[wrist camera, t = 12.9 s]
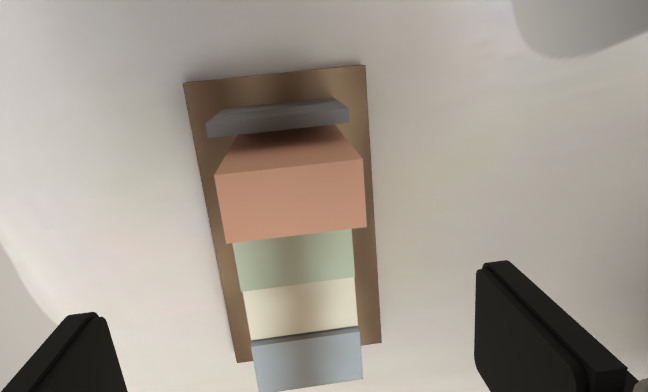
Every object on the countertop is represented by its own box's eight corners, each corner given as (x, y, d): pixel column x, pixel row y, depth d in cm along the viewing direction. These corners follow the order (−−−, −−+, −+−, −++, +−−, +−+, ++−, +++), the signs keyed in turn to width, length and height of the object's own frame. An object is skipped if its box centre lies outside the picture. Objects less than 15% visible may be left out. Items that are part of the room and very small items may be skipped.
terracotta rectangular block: (333, 122, 31) (362, 158, 20) (337, 168, 32) (366, 227, 21) (239, 132, 31) (213, 175, 19) (246, 178, 32) (226, 243, 20)
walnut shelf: (361, 64, 32) (395, 67, 22) (378, 332, 39) (408, 419, 30) (187, 82, 31) (144, 92, 21) (238, 351, 38) (224, 447, 29)
